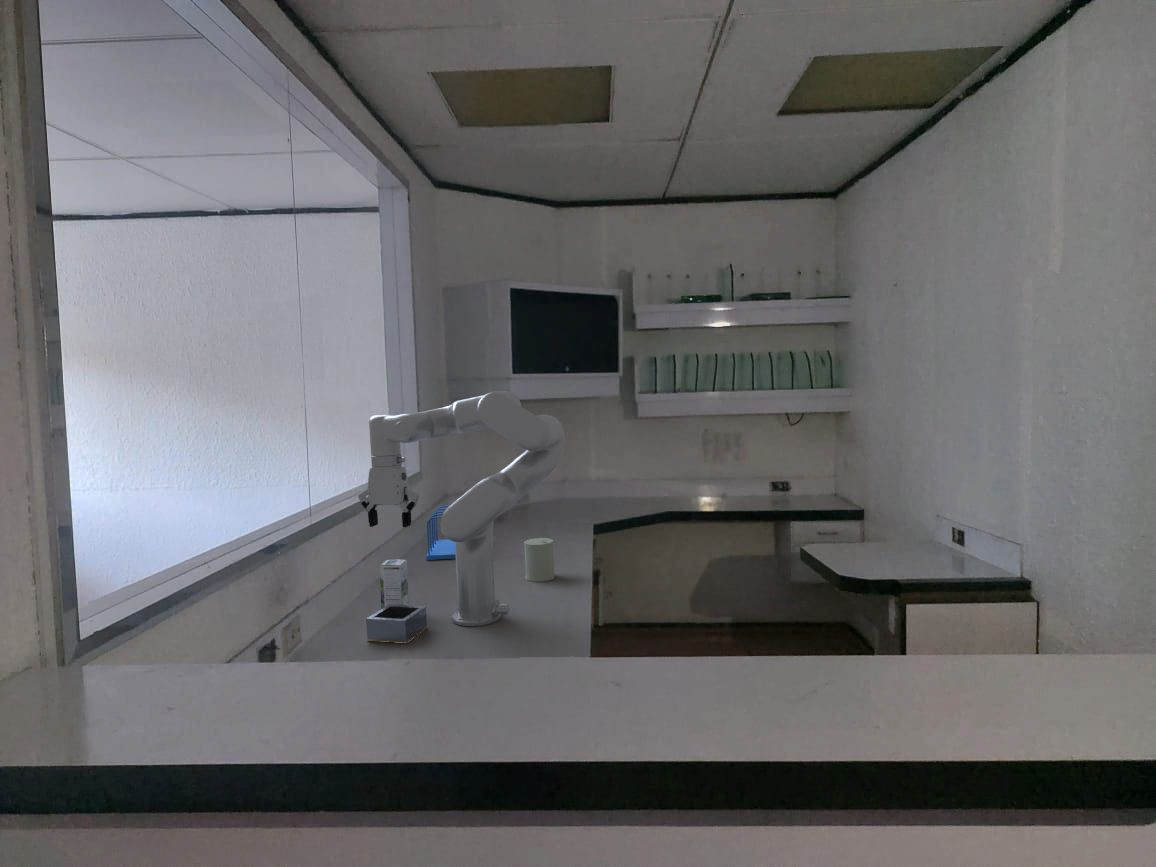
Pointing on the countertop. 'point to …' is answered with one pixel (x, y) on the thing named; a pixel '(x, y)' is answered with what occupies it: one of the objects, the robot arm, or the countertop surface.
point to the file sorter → (439, 541)
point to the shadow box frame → (396, 623)
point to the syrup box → (393, 583)
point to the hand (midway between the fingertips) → (390, 526)
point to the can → (539, 559)
